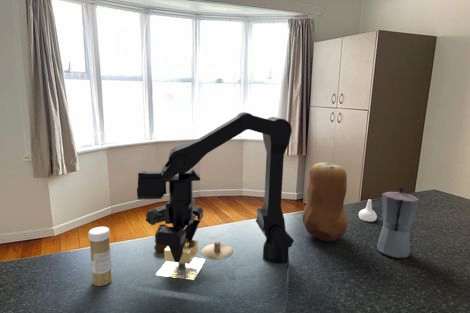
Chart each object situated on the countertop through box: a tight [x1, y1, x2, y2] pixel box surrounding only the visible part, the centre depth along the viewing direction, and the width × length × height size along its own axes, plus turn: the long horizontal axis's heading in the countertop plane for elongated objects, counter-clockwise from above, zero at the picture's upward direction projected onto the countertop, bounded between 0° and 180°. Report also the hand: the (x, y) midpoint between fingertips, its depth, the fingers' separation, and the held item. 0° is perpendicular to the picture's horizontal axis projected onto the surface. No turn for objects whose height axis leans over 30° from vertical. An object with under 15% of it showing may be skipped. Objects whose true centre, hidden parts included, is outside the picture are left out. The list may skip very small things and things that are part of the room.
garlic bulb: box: [358, 198, 378, 223], centre depth 117 cm, size 6×6×8 cm
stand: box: [201, 241, 234, 260], centre depth 89 cm, size 9×9×4 cm
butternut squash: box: [302, 161, 348, 243], centre depth 98 cm, size 14×13×25 cm
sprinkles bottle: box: [88, 226, 113, 287], centre depth 74 cm, size 5×5×13 cm
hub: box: [155, 257, 206, 281], centre depth 80 cm, size 10×10×4 cm
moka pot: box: [376, 186, 420, 259], centre depth 90 cm, size 10×15×20 cm, turn 155°
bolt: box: [153, 223, 168, 254], centre depth 95 cm, size 6×5×15 cm
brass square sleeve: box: [163, 239, 199, 264], centre depth 80 cm, size 7×7×3 cm
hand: (182, 254), depth 80 cm, fingers closed on brass square sleeve, 7 cm apart
